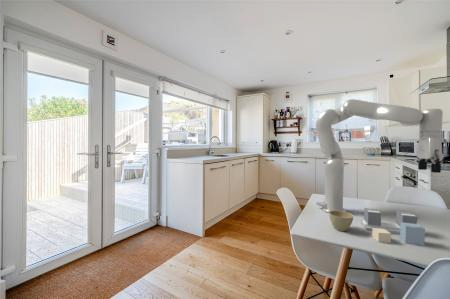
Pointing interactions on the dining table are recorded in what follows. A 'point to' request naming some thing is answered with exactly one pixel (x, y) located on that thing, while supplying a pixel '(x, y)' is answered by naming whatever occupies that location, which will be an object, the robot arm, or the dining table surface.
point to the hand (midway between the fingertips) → (428, 170)
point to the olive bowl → (341, 220)
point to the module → (412, 233)
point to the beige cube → (381, 235)
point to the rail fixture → (374, 221)
